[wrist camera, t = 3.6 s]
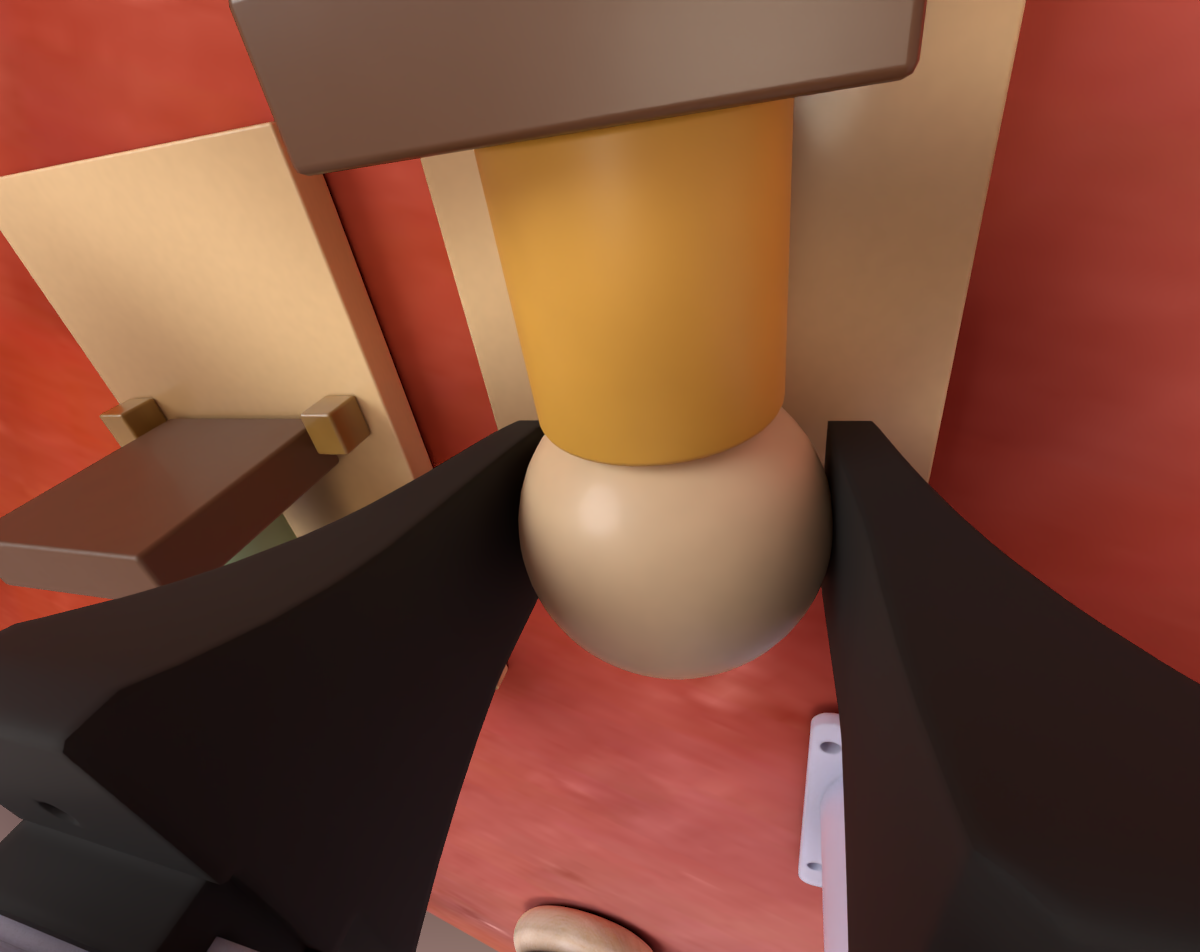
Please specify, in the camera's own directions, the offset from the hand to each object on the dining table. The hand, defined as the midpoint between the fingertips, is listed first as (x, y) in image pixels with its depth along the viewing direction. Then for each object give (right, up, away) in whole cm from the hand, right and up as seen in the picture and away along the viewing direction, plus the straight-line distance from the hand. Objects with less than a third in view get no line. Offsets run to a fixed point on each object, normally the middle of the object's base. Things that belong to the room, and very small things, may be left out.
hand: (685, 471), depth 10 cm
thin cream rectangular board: (-9, 0, +6) cm, 11 cm away
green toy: (-9, -2, +6) cm, 11 cm away
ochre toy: (0, +2, 0) cm, 2 cm away
